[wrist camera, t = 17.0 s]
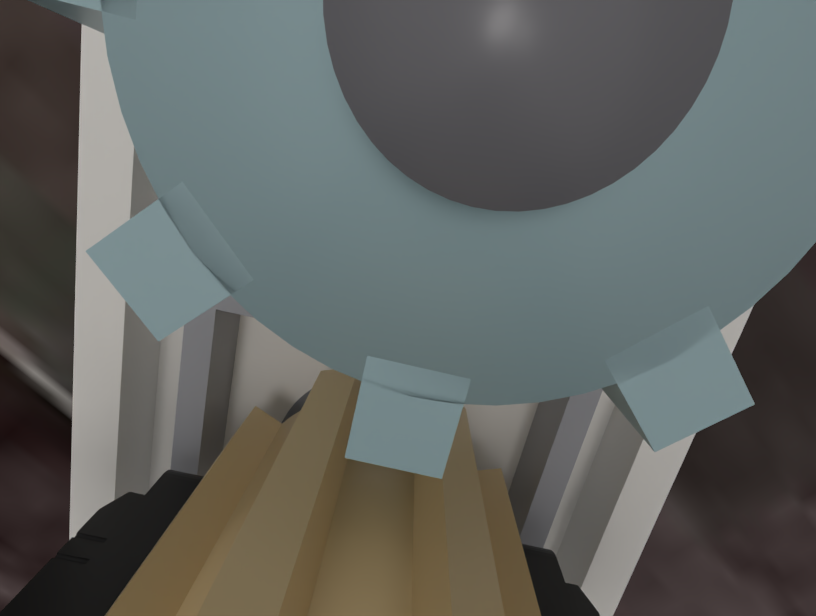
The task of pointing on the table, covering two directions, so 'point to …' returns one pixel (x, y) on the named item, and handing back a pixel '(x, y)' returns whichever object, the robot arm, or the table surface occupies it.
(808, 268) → the table surface
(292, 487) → the amber gear
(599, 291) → the teal gear
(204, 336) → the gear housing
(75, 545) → the robot arm
